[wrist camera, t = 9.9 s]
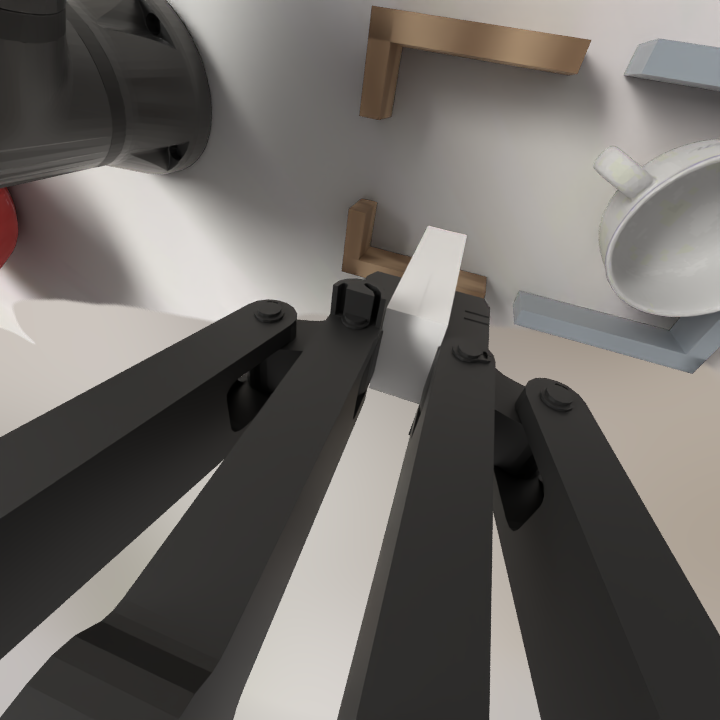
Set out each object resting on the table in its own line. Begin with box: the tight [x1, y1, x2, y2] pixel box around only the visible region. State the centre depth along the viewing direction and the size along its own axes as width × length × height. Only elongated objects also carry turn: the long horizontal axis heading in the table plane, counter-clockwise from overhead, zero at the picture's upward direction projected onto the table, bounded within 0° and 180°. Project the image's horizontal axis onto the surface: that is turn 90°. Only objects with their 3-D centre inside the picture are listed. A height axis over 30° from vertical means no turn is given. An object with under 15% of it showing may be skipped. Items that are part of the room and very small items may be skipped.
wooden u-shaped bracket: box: [342, 6, 591, 298], centre depth 30 cm, size 14×19×4 cm
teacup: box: [593, 139, 720, 317], centre depth 25 cm, size 14×11×8 cm
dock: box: [513, 39, 720, 373], centre depth 27 cm, size 16×20×4 cm
